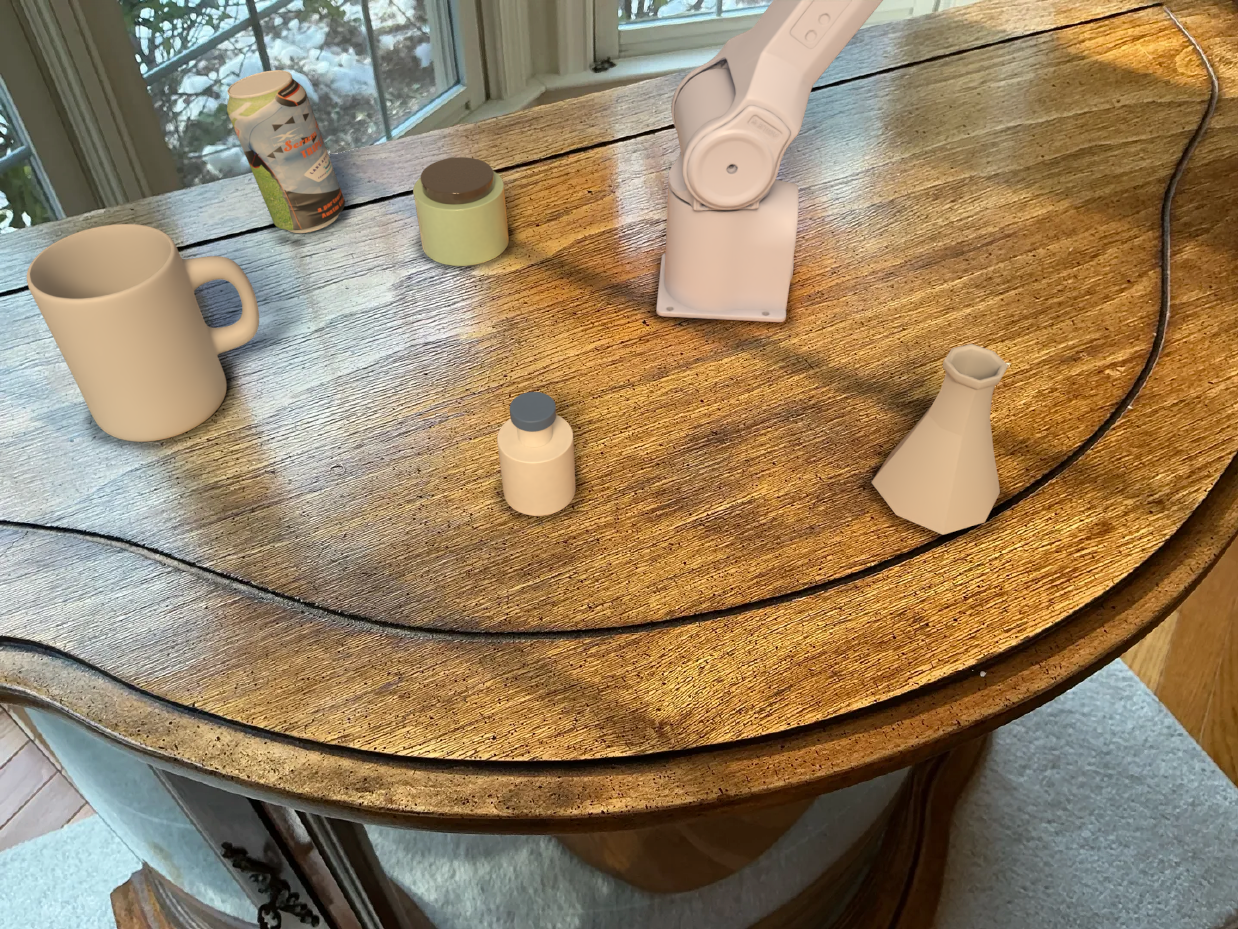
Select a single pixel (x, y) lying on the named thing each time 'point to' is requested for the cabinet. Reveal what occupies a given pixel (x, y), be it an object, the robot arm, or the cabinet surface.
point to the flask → (949, 450)
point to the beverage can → (285, 151)
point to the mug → (139, 327)
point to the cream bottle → (536, 456)
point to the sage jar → (461, 212)
